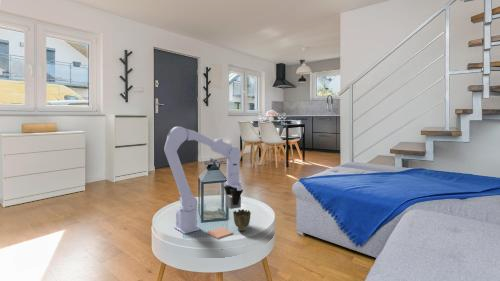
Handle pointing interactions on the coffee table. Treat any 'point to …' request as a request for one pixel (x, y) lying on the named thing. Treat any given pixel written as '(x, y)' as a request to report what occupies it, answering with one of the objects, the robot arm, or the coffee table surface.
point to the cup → (242, 219)
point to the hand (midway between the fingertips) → (233, 203)
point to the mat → (219, 232)
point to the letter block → (230, 203)
